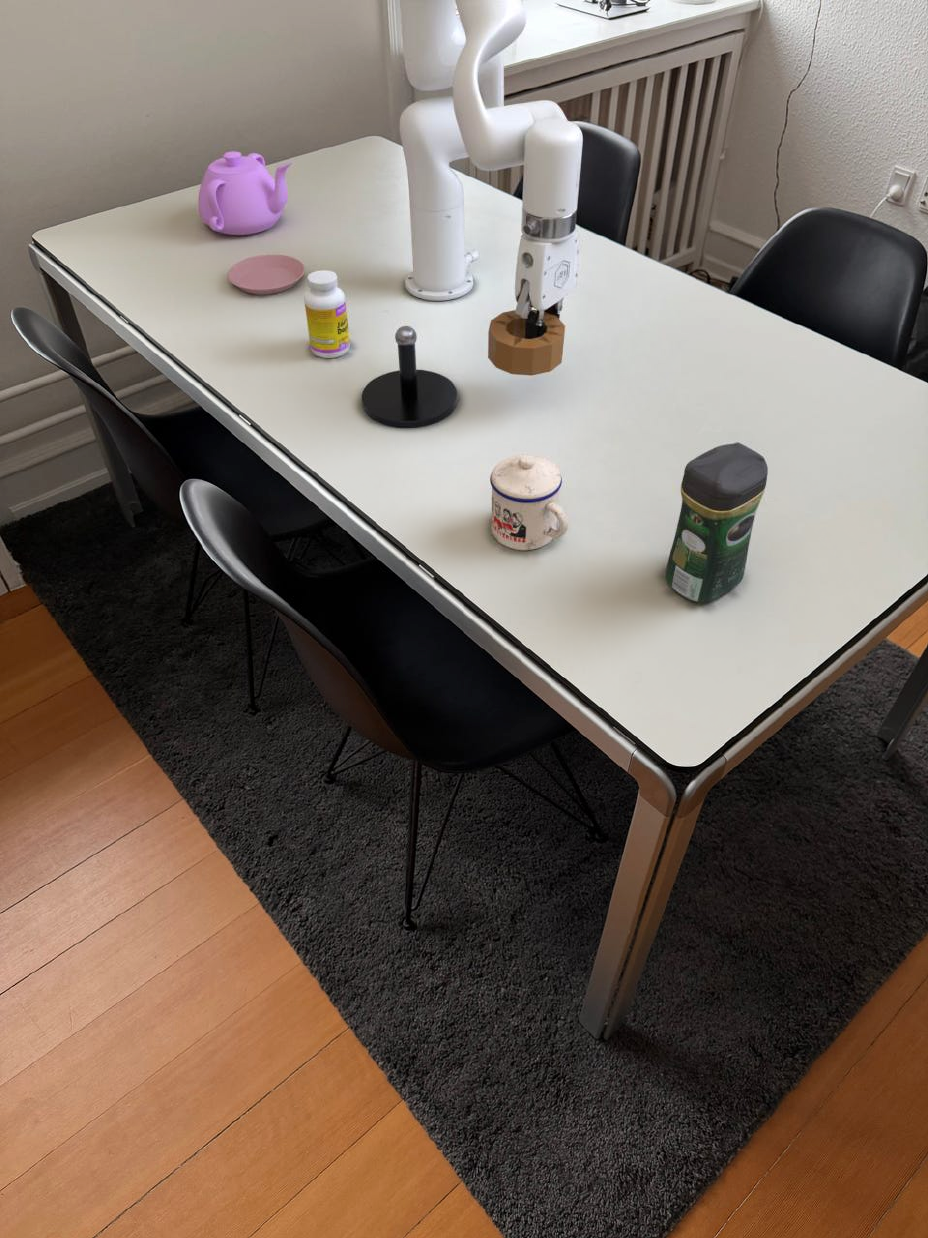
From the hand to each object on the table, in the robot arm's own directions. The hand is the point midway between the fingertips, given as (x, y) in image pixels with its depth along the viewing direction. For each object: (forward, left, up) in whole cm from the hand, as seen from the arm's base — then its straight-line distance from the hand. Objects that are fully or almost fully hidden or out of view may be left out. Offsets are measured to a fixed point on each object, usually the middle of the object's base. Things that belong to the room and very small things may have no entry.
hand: (541, 339), depth 143 cm
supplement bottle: (+11, -36, -9) cm, 38 cm away
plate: (0, -63, -9) cm, 63 cm away
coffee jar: (+24, +41, -9) cm, 49 cm away
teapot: (-16, -84, -9) cm, 86 cm away
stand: (+15, -15, -9) cm, 22 cm away
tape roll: (+4, 0, -1) cm, 4 cm away
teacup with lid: (+30, +19, -9) cm, 37 cm away
